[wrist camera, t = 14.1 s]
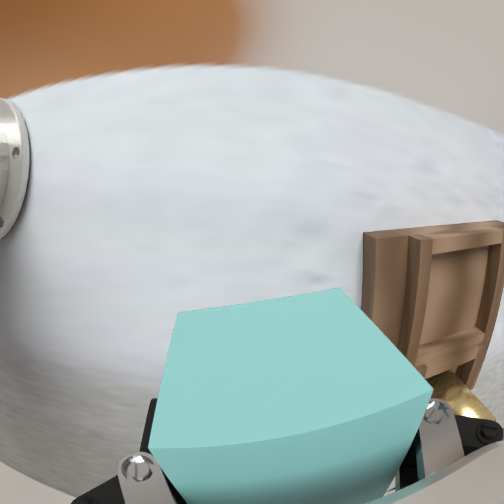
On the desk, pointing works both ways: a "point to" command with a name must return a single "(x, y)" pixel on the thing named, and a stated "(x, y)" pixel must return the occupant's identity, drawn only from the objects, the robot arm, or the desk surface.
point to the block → (285, 404)
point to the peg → (458, 396)
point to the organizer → (436, 293)
